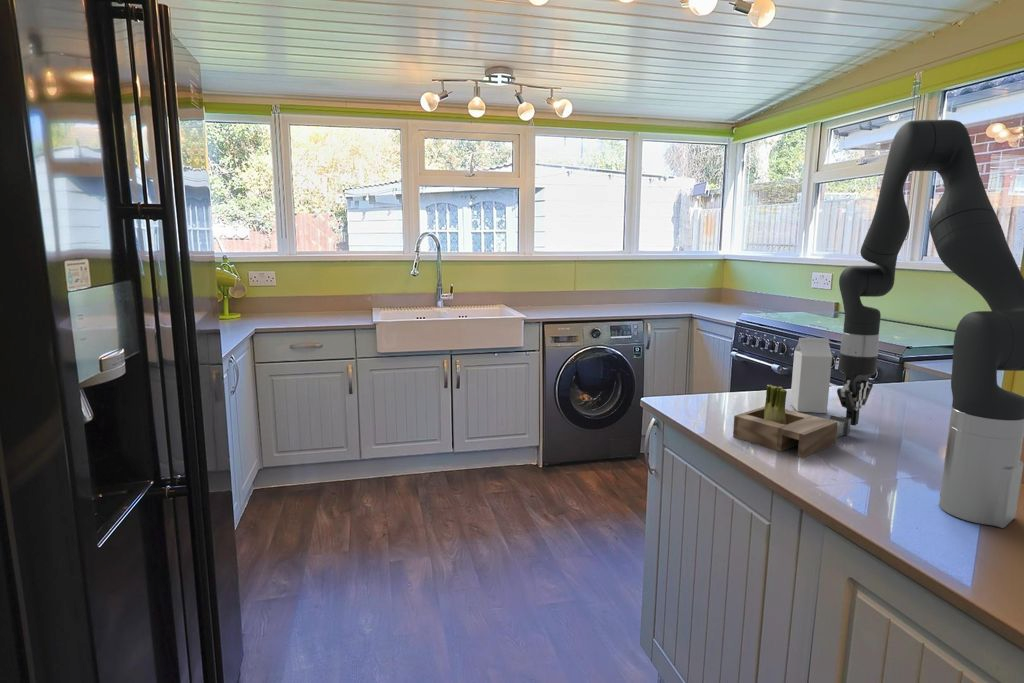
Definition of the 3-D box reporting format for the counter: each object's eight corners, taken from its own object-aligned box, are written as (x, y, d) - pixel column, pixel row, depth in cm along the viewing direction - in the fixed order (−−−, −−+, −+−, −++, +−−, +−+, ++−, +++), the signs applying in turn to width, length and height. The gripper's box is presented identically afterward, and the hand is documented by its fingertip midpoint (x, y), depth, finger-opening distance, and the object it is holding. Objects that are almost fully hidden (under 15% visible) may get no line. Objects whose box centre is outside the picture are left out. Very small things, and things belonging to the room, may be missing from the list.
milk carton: (827, 413, 147) (833, 341, 144) (797, 412, 149) (803, 340, 145) (818, 405, 154) (824, 336, 151) (789, 404, 155) (795, 335, 152)
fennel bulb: (759, 432, 133) (763, 382, 131) (782, 434, 132) (786, 383, 130) (765, 441, 128) (769, 389, 125) (789, 442, 127) (793, 390, 124)
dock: (835, 443, 126) (837, 421, 125) (802, 457, 118) (804, 434, 117) (767, 425, 138) (768, 405, 138) (733, 436, 130) (734, 415, 130)
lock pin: (849, 434, 131) (851, 418, 130) (820, 446, 123) (822, 429, 123) (831, 429, 134) (833, 414, 133) (802, 441, 127) (803, 424, 126)
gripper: (862, 358, 125) (855, 434, 128) (889, 351, 133) (881, 422, 136) (827, 353, 131) (821, 425, 134) (855, 346, 139) (848, 415, 142)
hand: (851, 424), depth 135 cm, fingers closed
